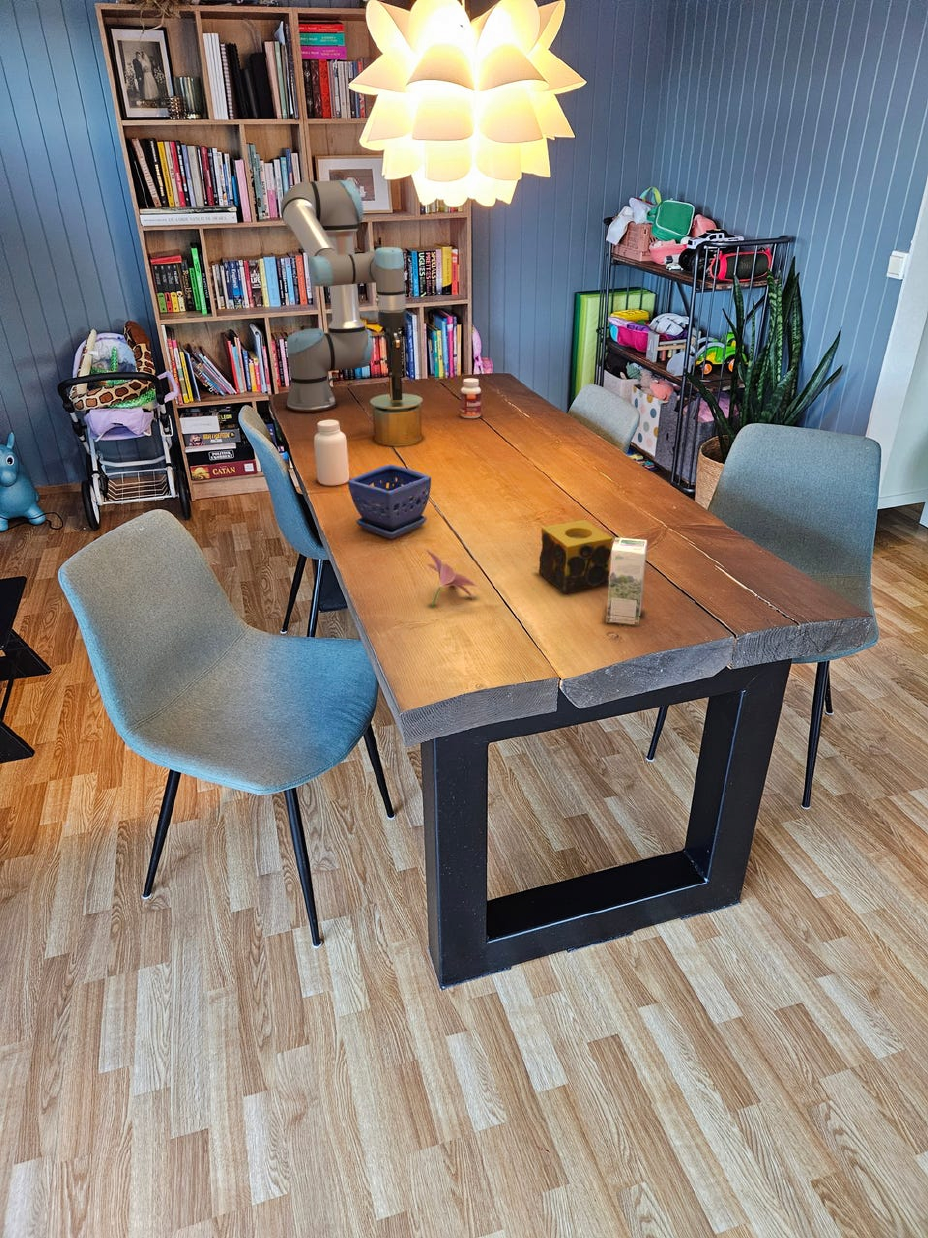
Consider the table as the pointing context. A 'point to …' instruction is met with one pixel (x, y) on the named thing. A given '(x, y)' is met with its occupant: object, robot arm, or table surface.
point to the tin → (397, 426)
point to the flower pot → (390, 500)
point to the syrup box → (626, 580)
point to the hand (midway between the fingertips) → (396, 397)
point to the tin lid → (388, 403)
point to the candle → (575, 556)
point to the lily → (449, 576)
